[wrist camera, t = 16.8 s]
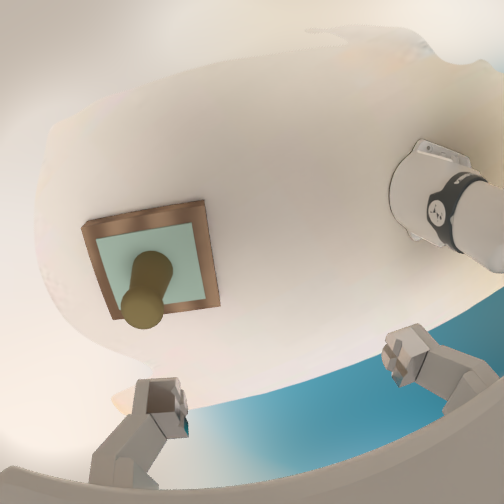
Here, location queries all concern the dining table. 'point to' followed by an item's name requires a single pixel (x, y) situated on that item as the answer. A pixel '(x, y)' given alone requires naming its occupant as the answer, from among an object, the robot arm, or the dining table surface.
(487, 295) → the dining table surface
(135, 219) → the wooden tray
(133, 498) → the robot arm
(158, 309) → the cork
